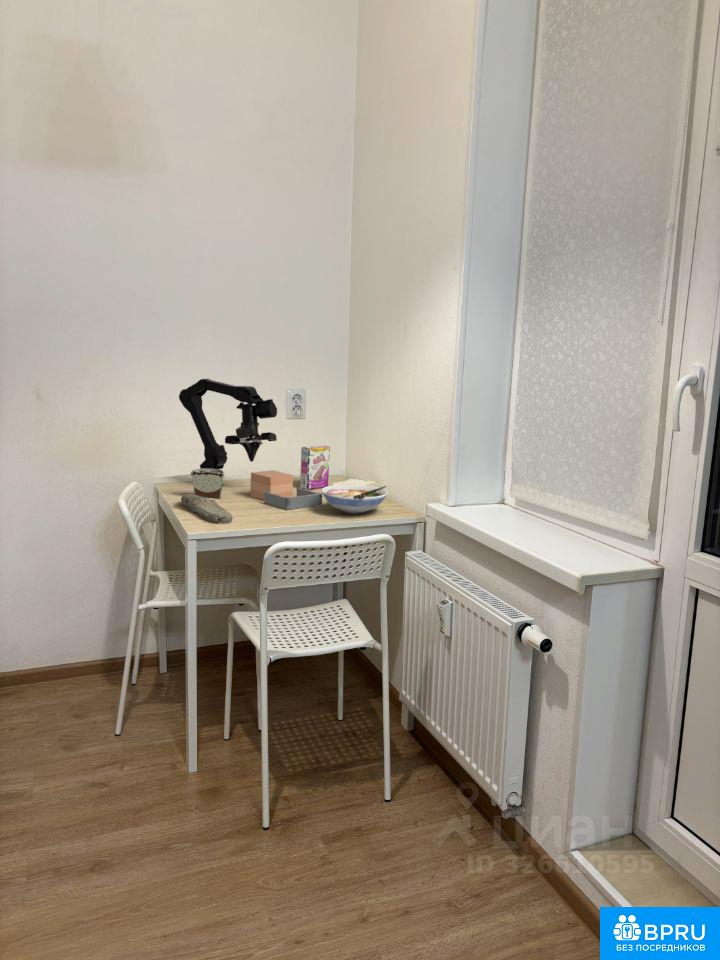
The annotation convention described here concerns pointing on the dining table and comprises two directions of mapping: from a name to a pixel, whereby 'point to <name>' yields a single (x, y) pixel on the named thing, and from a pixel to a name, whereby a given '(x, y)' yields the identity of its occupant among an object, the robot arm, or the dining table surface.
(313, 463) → the candy bar box
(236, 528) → the dining table surface
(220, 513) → the elongated rock
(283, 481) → the tile stack
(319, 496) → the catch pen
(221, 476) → the food container
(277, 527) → the dining table surface
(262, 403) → the robot arm
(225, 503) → the dining table surface
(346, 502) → the ramen bowl
